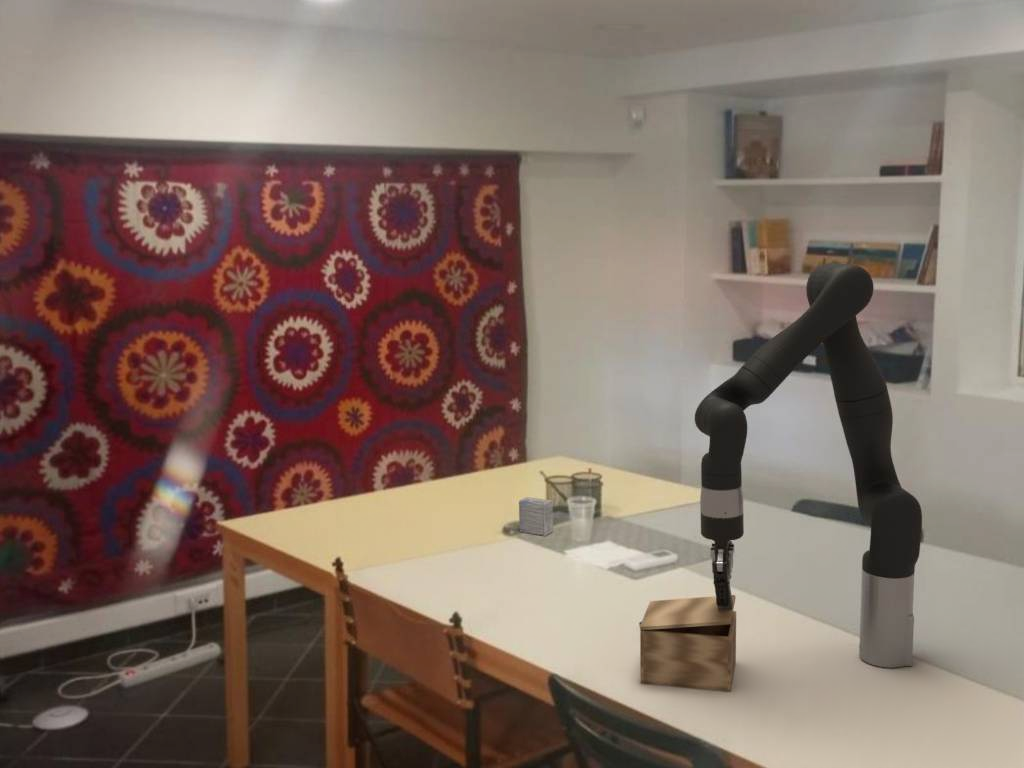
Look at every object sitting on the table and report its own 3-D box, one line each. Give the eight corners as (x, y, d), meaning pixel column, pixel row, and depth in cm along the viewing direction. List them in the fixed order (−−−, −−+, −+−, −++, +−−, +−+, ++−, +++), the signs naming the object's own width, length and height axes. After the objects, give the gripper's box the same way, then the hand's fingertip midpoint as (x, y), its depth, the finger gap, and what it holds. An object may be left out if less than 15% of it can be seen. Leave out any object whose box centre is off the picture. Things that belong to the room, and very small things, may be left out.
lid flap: (735, 598, 205) (731, 569, 205) (730, 624, 193) (725, 593, 192) (650, 604, 210) (645, 575, 209) (640, 630, 197) (635, 600, 197)
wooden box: (735, 661, 207) (736, 611, 206) (730, 691, 195) (731, 638, 193) (650, 654, 211) (650, 604, 210) (640, 683, 199) (640, 630, 197)
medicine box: (553, 532, 290) (553, 500, 288) (544, 536, 286) (544, 504, 284) (527, 528, 294) (527, 496, 292) (519, 532, 290) (518, 500, 289)
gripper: (741, 522, 189) (742, 618, 192) (745, 500, 202) (746, 590, 205) (696, 520, 191) (698, 616, 194) (704, 499, 204) (705, 588, 207)
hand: (723, 602), depth 199 cm, fingers closed on lid flap, 2 cm apart
